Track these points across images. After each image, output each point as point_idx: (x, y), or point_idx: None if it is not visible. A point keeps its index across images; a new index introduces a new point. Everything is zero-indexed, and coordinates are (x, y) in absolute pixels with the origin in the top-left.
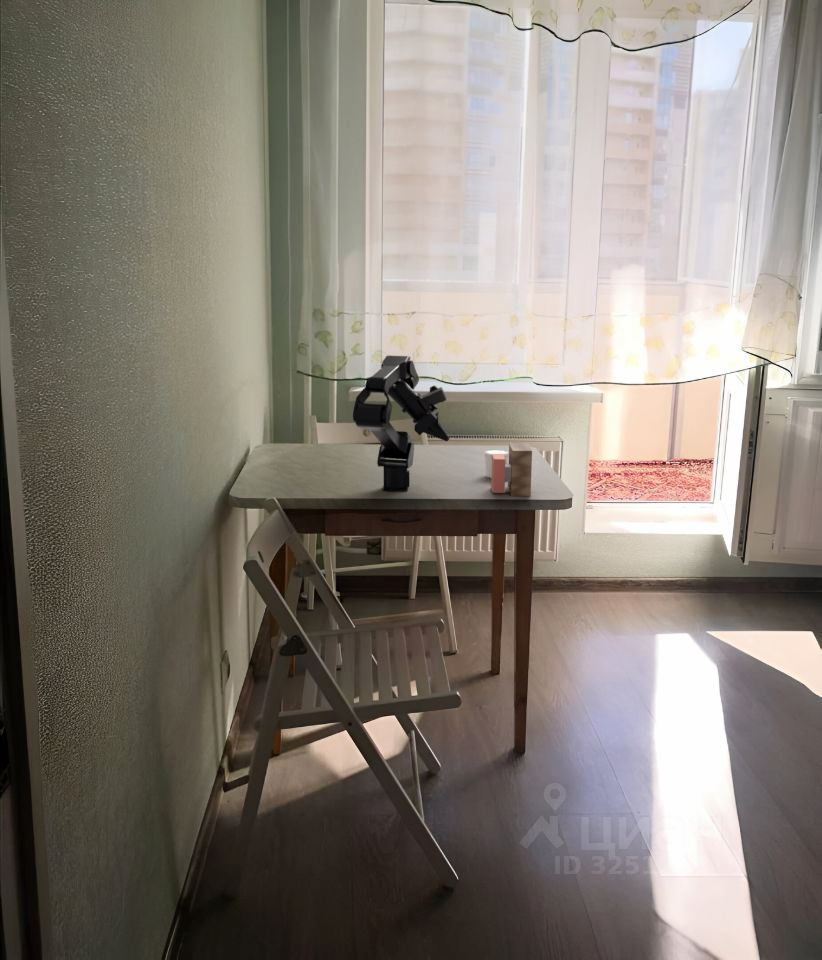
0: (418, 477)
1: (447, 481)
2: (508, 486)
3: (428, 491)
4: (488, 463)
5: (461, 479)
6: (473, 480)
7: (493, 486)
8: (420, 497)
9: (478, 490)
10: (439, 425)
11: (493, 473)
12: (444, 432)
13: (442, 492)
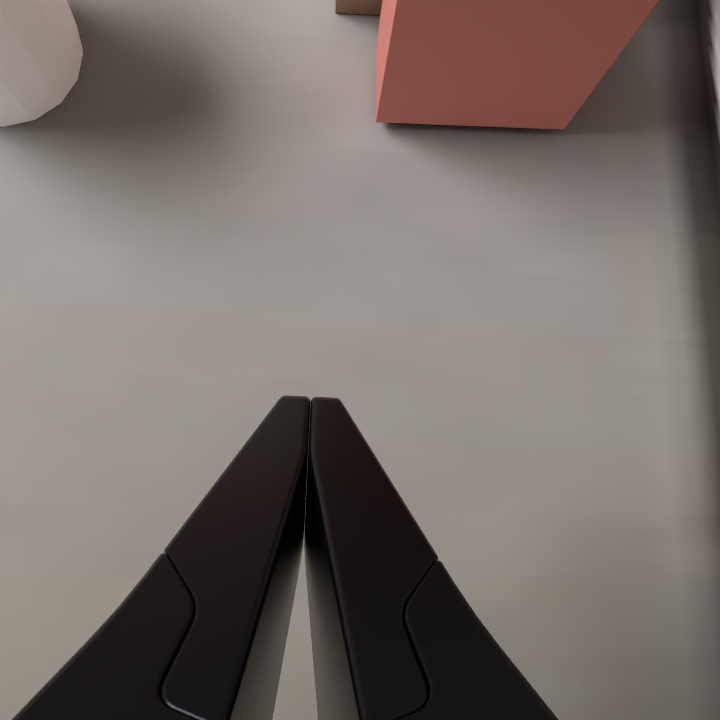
0: (10, 702)
1: (170, 442)
2: (379, 7)
3: (501, 604)
4: (2, 44)
5: (104, 325)
6: (141, 234)
7: (582, 102)
8: (687, 668)
9: (453, 222)
10: (530, 691)
11: (618, 39)
12: (400, 500)
13: (526, 491)
